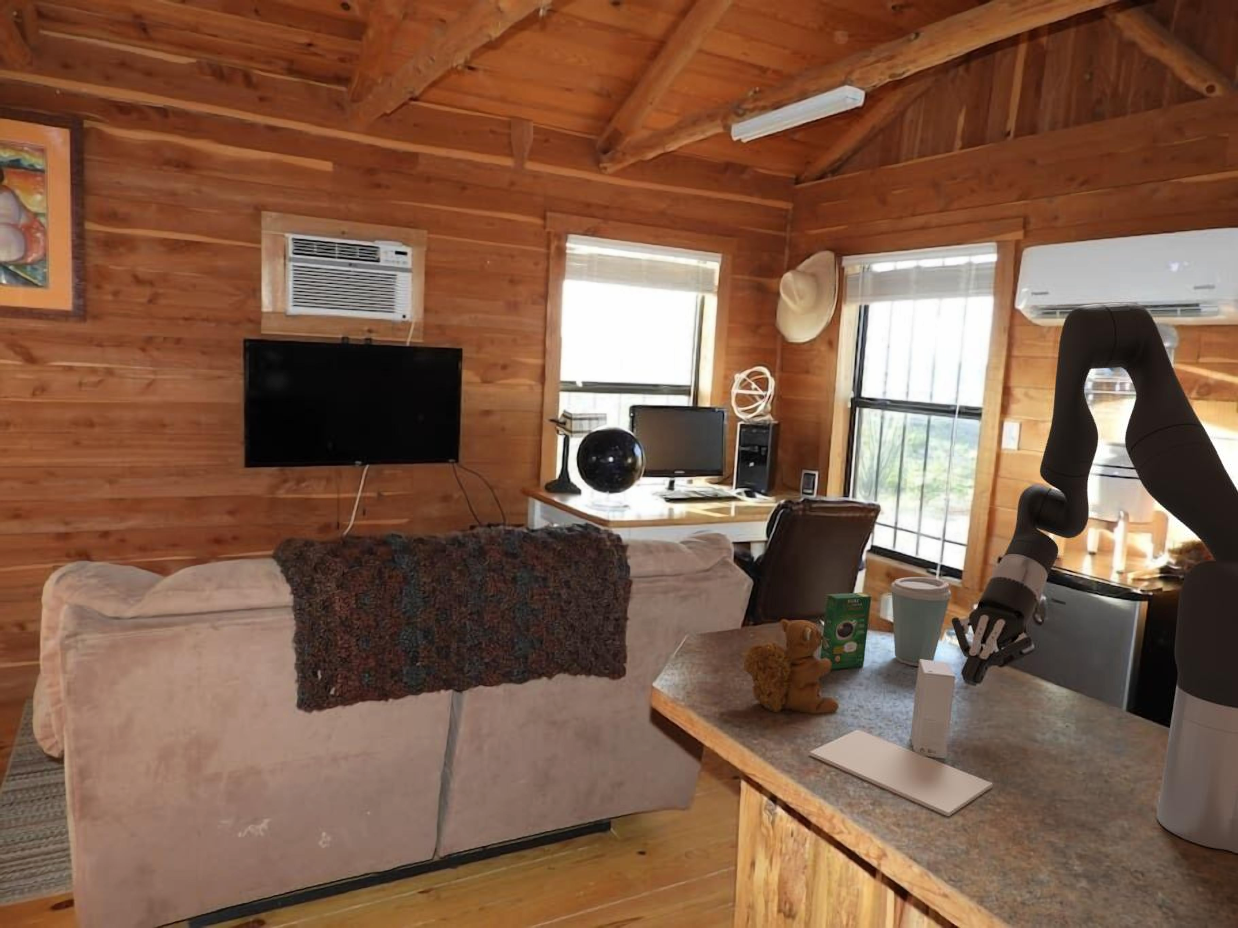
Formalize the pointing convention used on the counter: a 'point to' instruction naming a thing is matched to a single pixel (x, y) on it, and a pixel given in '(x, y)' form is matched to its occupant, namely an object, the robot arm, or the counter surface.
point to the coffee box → (846, 629)
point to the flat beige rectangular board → (902, 771)
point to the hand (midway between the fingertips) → (968, 682)
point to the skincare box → (932, 708)
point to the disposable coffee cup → (918, 617)
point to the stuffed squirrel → (790, 671)
